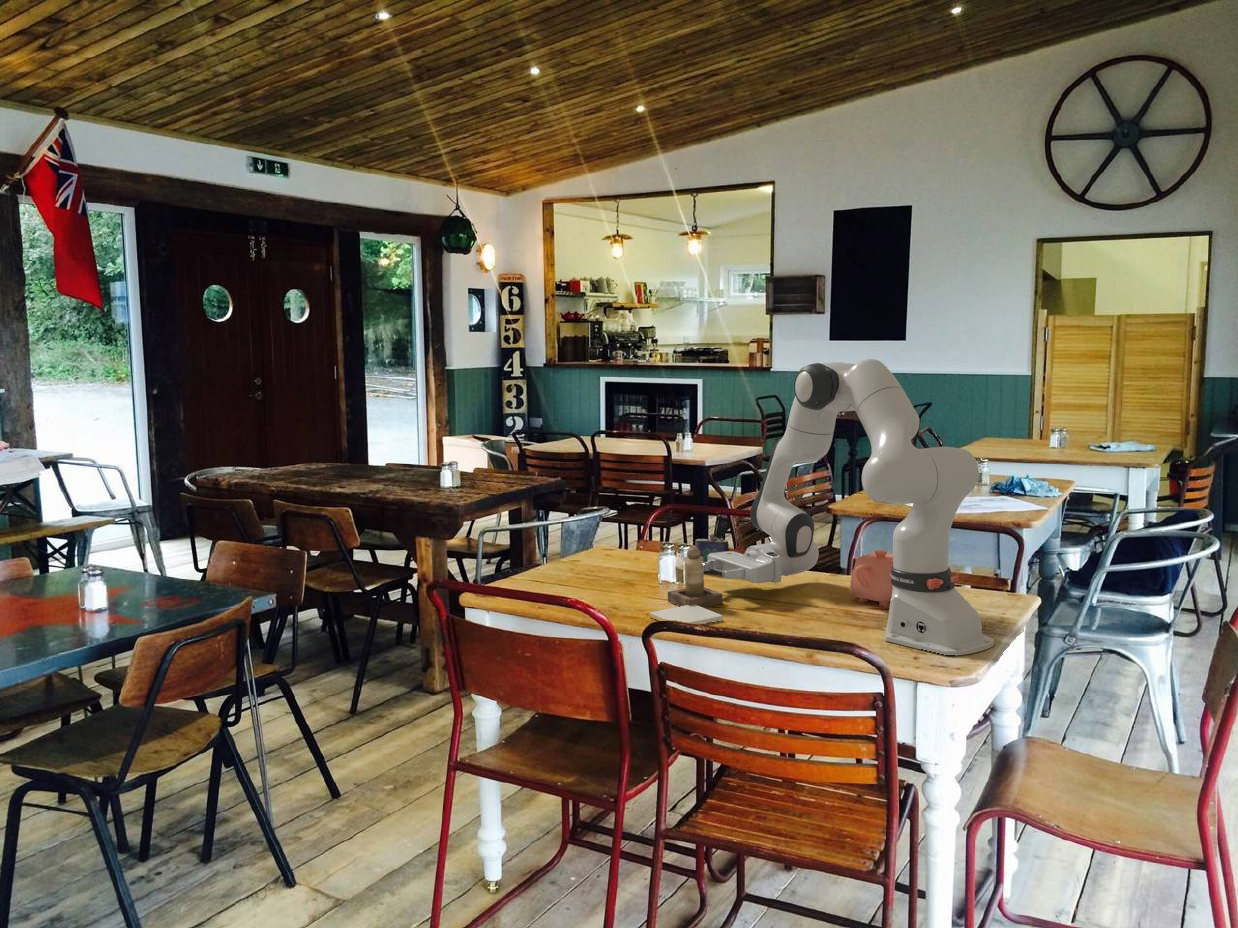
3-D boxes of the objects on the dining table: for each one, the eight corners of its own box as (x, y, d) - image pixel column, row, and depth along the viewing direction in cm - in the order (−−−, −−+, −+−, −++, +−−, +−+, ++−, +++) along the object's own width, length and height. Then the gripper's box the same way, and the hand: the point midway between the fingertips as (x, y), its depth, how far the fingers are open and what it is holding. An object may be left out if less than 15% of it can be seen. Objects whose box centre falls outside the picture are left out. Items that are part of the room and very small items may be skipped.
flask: (694, 572, 275) (694, 533, 274) (698, 570, 278) (697, 531, 276) (727, 575, 271) (727, 535, 270) (731, 572, 274) (730, 533, 272)
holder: (722, 604, 244) (722, 593, 244) (689, 610, 240) (688, 600, 239) (700, 595, 252) (700, 585, 252) (668, 601, 248) (667, 591, 247)
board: (722, 620, 231) (722, 615, 230) (677, 630, 225) (677, 624, 225) (693, 608, 241) (693, 603, 241) (649, 617, 235) (649, 612, 235)
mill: (707, 603, 245) (706, 547, 243) (692, 606, 243) (690, 550, 241) (697, 599, 249) (696, 544, 247) (682, 602, 247) (680, 546, 245)
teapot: (879, 613, 232) (878, 561, 230) (836, 604, 240) (835, 553, 239) (928, 595, 244) (928, 546, 243) (886, 587, 253) (886, 539, 252)
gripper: (735, 543, 263) (689, 550, 256) (784, 557, 245) (736, 566, 238) (735, 567, 263) (689, 575, 257) (785, 583, 246) (737, 592, 239)
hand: (712, 571), depth 247 cm, fingers open, 8 cm apart
